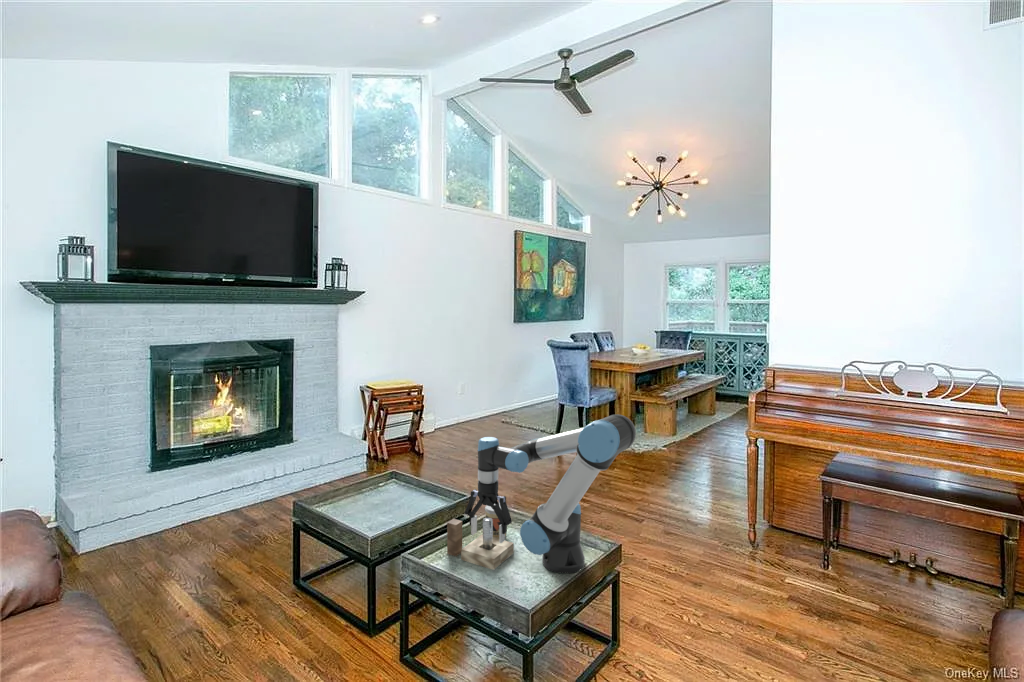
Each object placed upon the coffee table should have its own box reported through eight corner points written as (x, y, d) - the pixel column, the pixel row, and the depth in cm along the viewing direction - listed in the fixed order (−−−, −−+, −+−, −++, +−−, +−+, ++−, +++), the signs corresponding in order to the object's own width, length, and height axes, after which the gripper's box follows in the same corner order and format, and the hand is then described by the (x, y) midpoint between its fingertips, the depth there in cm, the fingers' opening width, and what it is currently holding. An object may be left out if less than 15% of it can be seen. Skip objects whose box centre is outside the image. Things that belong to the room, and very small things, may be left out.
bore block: (513, 553, 196) (513, 542, 196) (493, 570, 184) (494, 559, 184) (482, 544, 203) (482, 534, 203) (461, 559, 191) (461, 549, 191)
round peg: (494, 555, 194) (494, 519, 193) (489, 559, 191) (489, 522, 190) (486, 553, 196) (486, 517, 195) (481, 557, 193) (480, 520, 192)
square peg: (462, 552, 197) (462, 521, 196) (456, 556, 193) (456, 525, 192) (453, 549, 199) (453, 518, 198) (447, 553, 195) (447, 522, 194)
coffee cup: (482, 540, 207) (482, 510, 206) (487, 529, 216) (487, 501, 215) (505, 542, 205) (506, 512, 204) (509, 531, 214) (510, 503, 213)
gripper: (521, 482, 189) (521, 541, 190) (466, 471, 200) (466, 526, 202) (511, 489, 182) (510, 549, 184) (455, 477, 194) (455, 534, 196)
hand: (487, 537), depth 193 cm, fingers open, 11 cm apart
